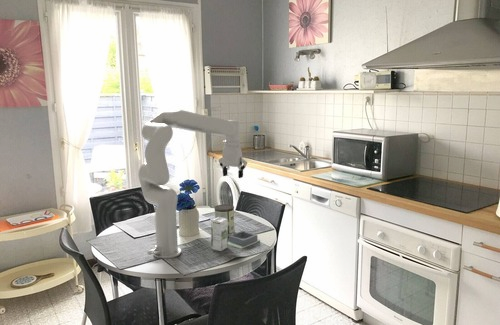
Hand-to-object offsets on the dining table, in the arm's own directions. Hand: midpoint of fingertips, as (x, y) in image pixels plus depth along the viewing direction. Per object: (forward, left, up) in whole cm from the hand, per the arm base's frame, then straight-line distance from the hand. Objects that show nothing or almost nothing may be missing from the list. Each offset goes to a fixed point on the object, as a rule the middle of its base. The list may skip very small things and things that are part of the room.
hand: (232, 176), depth 215 cm
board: (-9, -15, -30) cm, 35 cm away
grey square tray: (-9, -15, -30) cm, 35 cm away
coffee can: (-5, +2, -30) cm, 30 cm away
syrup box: (-22, -12, -30) cm, 39 cm away
